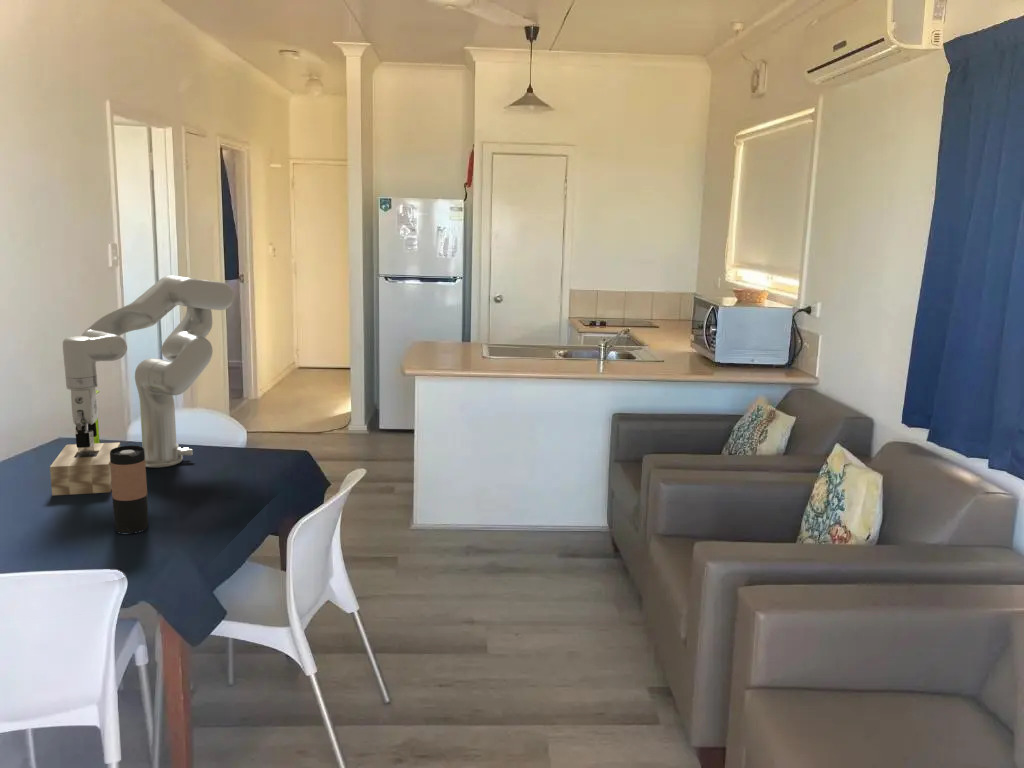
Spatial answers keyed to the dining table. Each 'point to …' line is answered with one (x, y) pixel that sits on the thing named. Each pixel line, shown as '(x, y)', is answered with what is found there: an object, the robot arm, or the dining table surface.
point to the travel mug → (129, 488)
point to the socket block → (82, 471)
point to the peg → (87, 450)
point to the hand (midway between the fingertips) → (87, 441)
